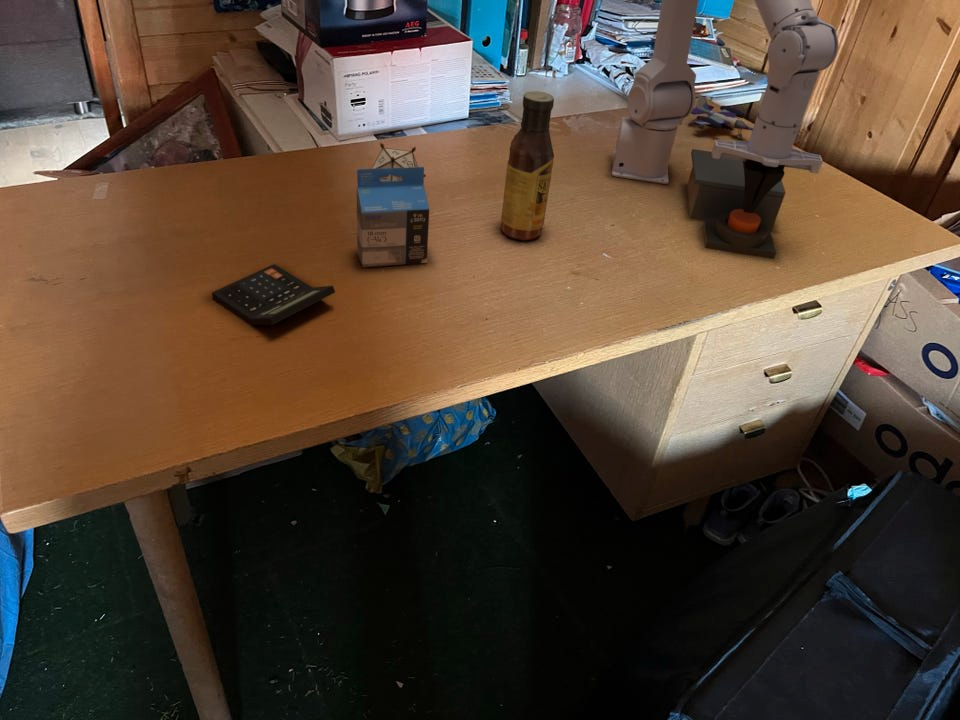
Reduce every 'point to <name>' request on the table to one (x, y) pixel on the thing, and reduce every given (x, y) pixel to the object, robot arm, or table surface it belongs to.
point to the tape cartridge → (392, 217)
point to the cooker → (726, 203)
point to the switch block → (738, 238)
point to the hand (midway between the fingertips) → (748, 209)
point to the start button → (743, 221)
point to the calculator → (269, 296)
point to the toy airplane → (719, 117)
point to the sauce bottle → (529, 170)
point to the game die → (394, 161)
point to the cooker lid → (723, 173)
